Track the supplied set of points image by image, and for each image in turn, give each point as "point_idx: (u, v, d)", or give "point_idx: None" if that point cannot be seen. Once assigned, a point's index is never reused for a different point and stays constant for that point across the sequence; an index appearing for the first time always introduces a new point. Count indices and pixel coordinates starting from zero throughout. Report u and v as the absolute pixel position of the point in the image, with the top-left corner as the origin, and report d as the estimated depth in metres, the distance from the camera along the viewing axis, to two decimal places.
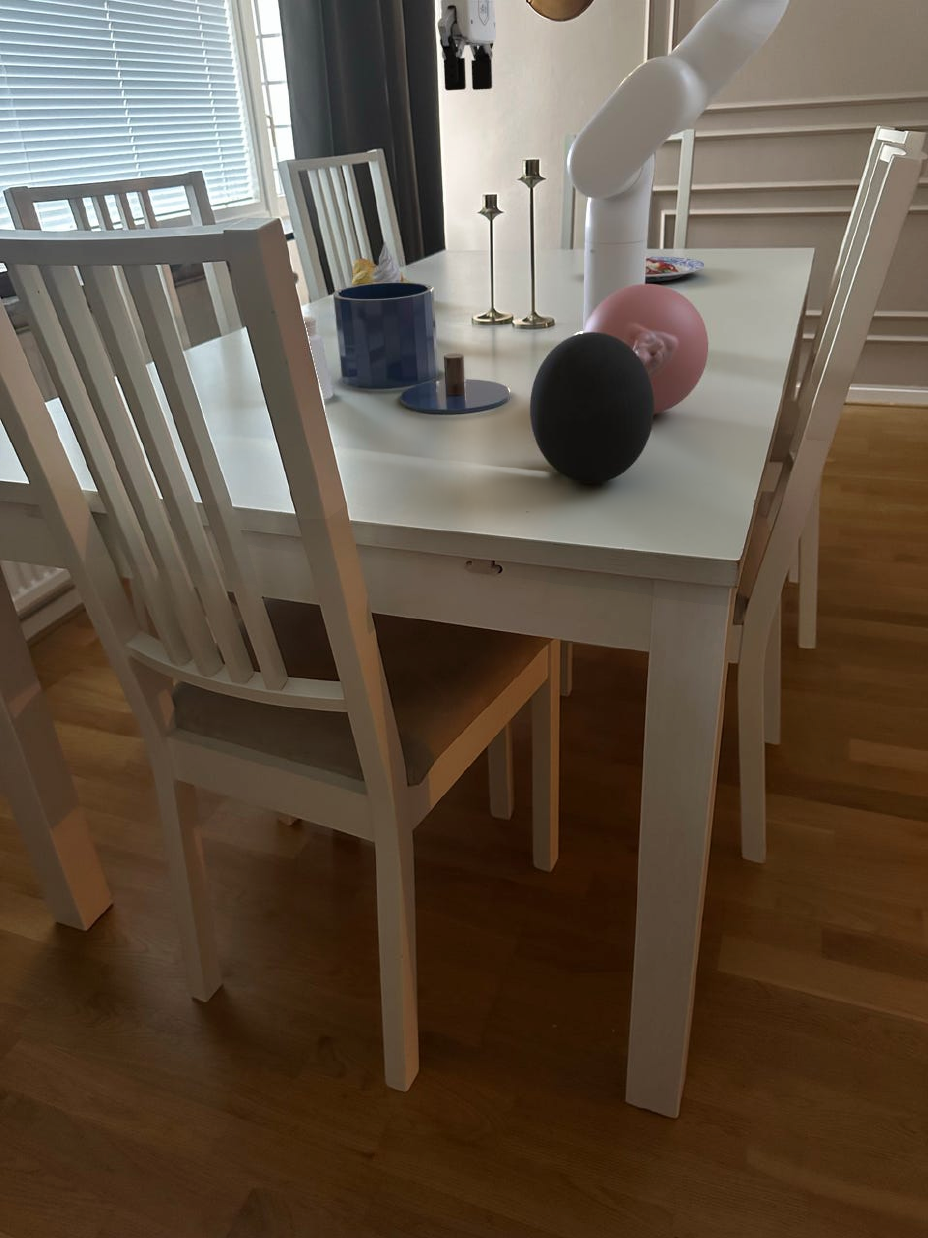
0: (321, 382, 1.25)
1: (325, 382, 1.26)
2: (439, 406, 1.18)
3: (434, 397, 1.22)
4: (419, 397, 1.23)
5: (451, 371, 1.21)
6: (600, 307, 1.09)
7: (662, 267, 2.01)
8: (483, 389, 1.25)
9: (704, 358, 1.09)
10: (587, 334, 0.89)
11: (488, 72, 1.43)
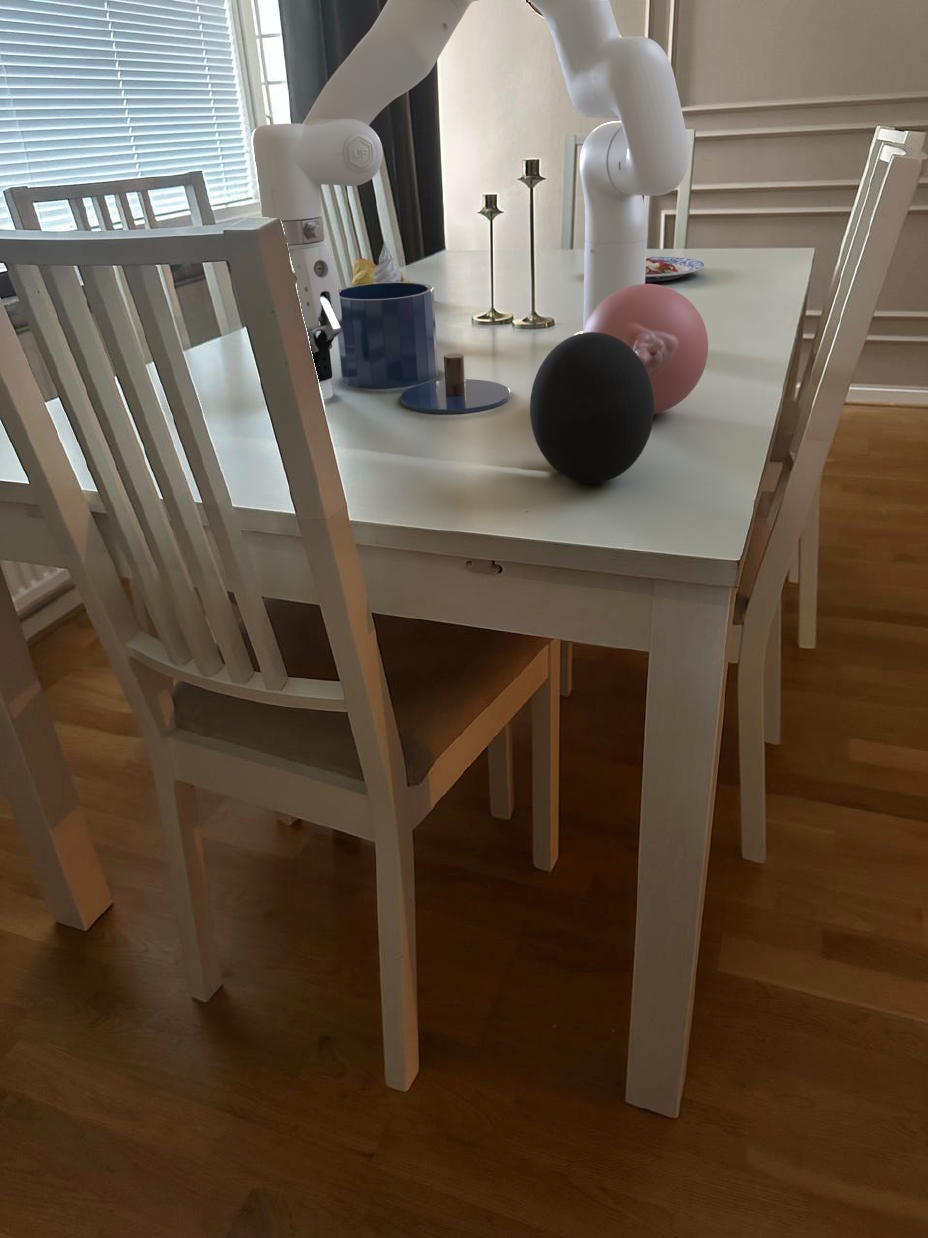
0: (321, 382, 1.25)
1: (325, 382, 1.26)
2: (439, 406, 1.18)
3: (434, 397, 1.22)
4: (419, 397, 1.23)
5: (451, 371, 1.21)
6: (600, 307, 1.09)
7: (662, 267, 2.01)
8: (483, 389, 1.25)
9: (704, 358, 1.09)
10: (587, 334, 0.89)
11: None
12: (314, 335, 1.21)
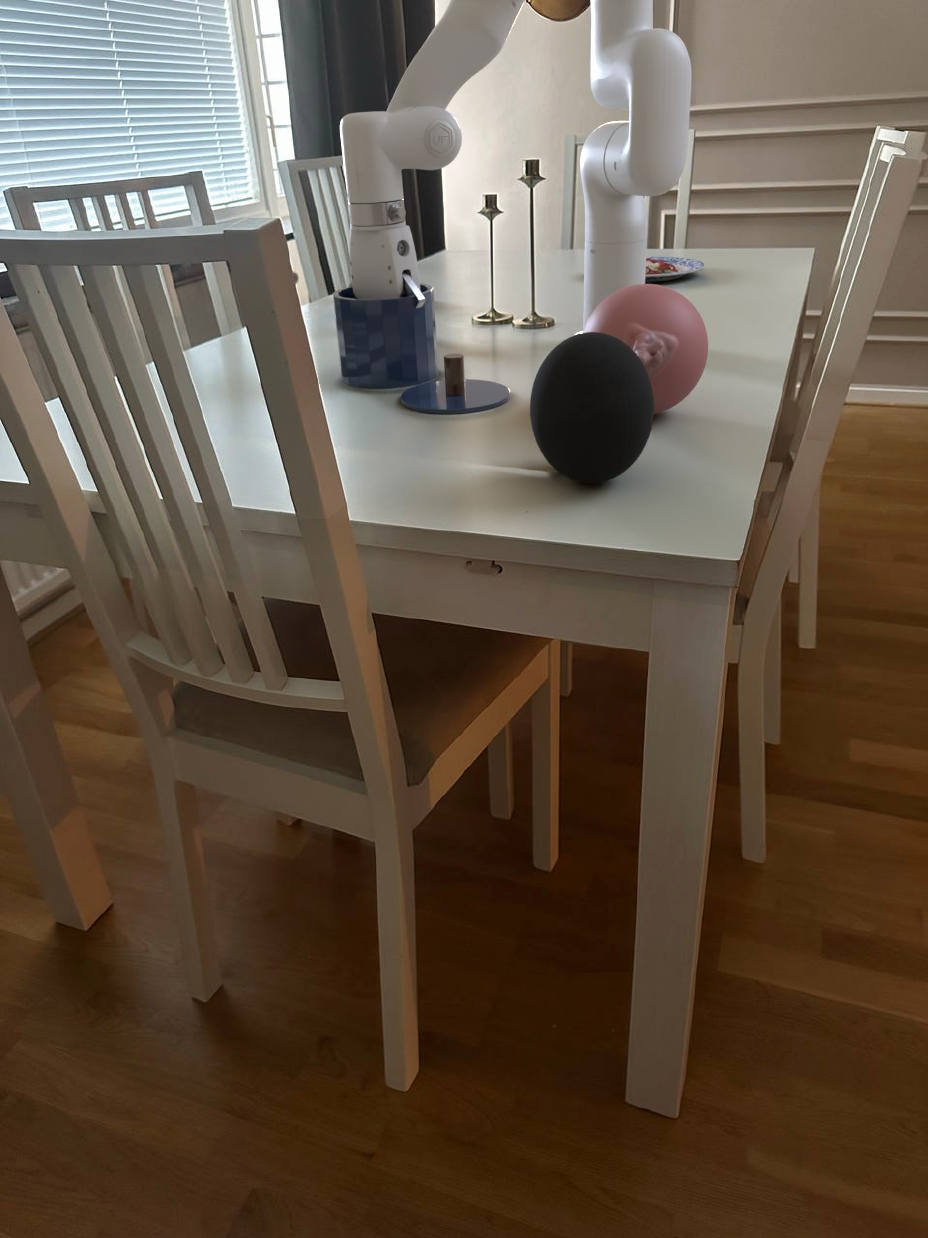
0: None
1: None
2: (439, 406, 1.18)
3: (434, 397, 1.22)
4: (419, 397, 1.23)
5: (451, 371, 1.21)
6: (600, 307, 1.09)
7: (662, 267, 2.01)
8: (483, 389, 1.25)
9: (704, 358, 1.09)
10: (587, 334, 0.89)
11: None
12: None
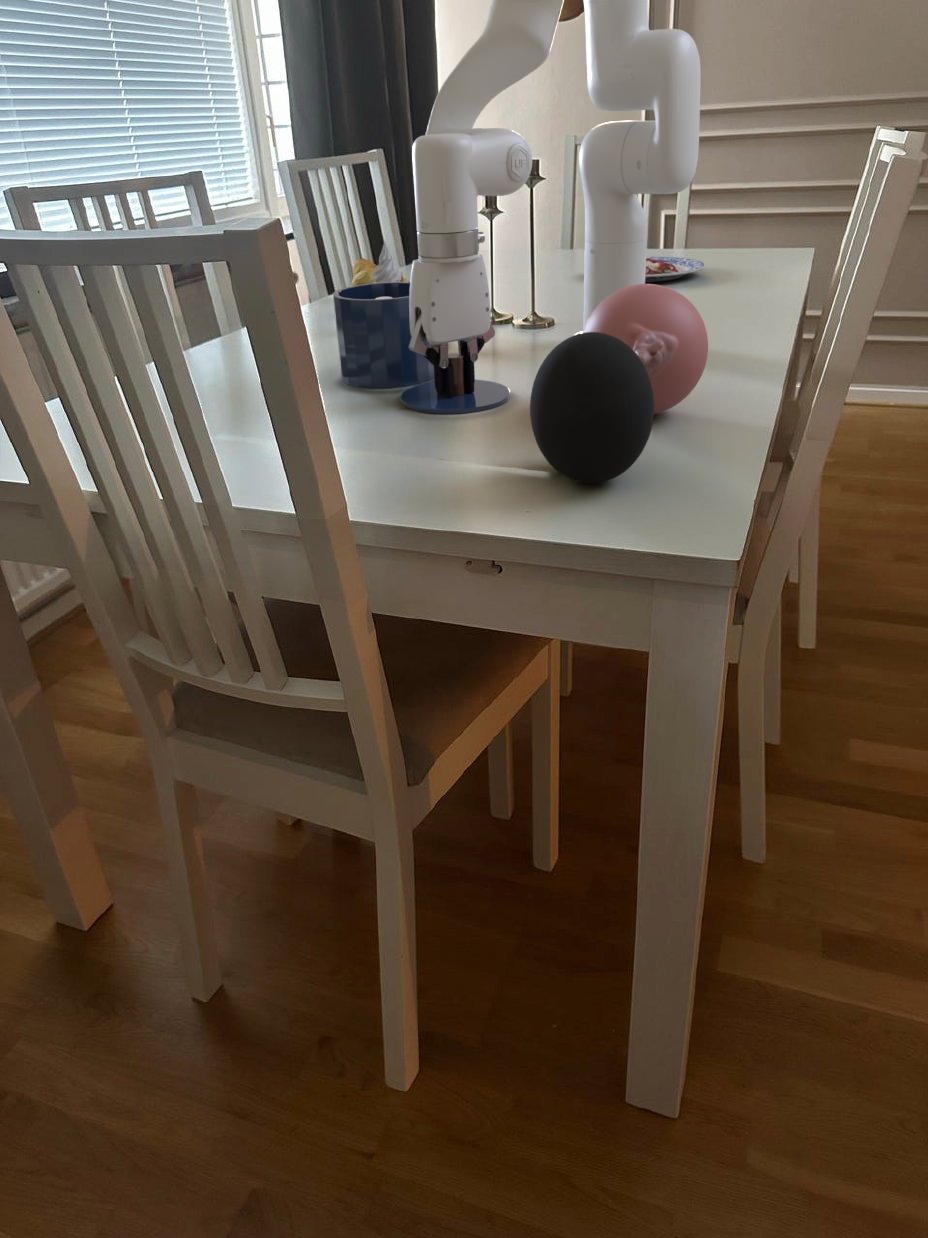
0: None
1: None
2: (439, 406, 1.18)
3: (434, 397, 1.22)
4: (419, 397, 1.23)
5: None
6: (600, 307, 1.09)
7: (662, 267, 2.01)
8: (483, 389, 1.25)
9: (704, 358, 1.09)
10: (587, 334, 0.89)
11: None
12: None
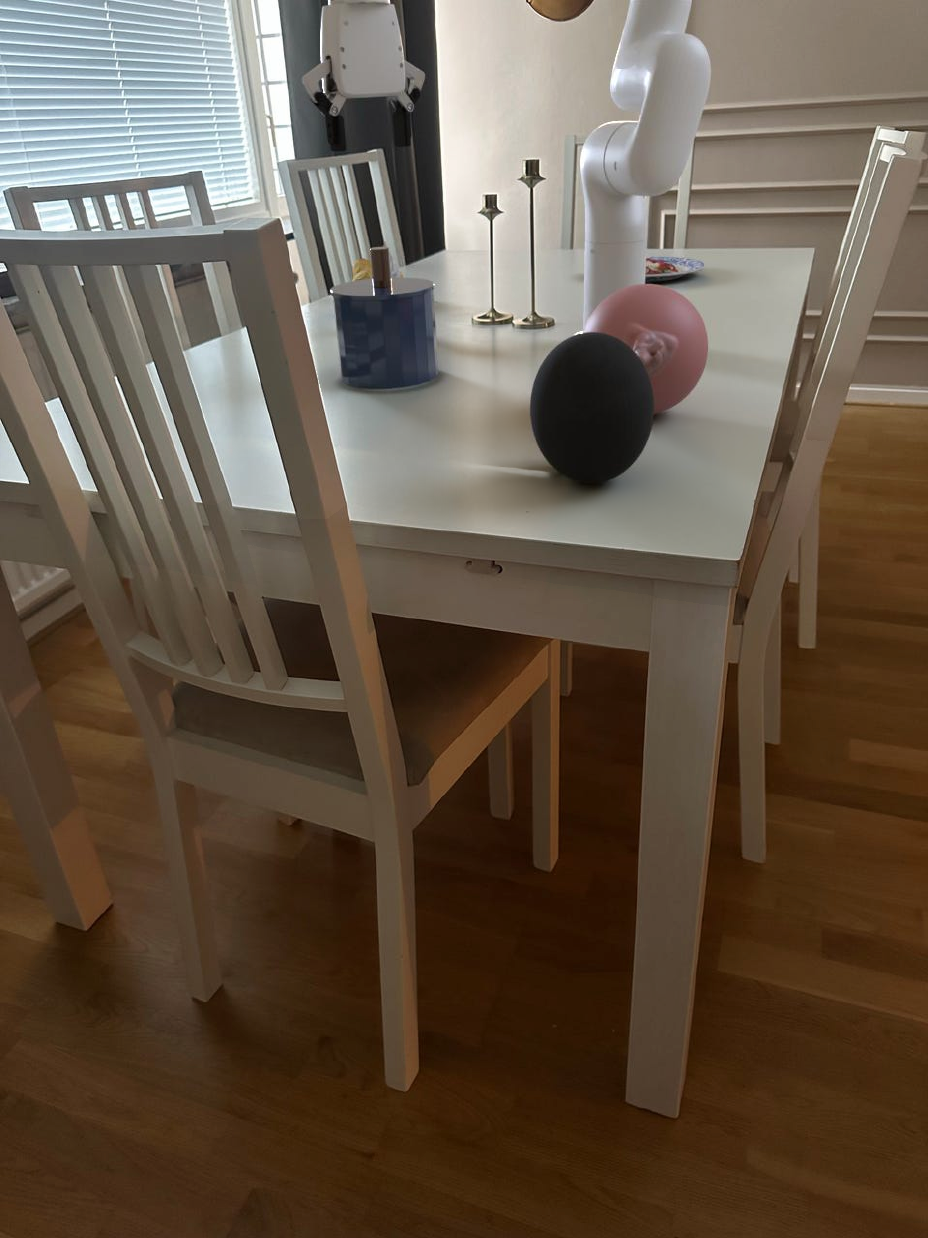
0: None
1: None
2: (364, 294, 1.25)
3: (361, 288, 1.28)
4: (347, 289, 1.29)
5: (376, 263, 1.27)
6: (600, 307, 1.09)
7: (662, 267, 2.01)
8: (409, 283, 1.31)
9: (704, 358, 1.09)
10: (587, 334, 0.89)
11: None
12: (404, 92, 1.20)
